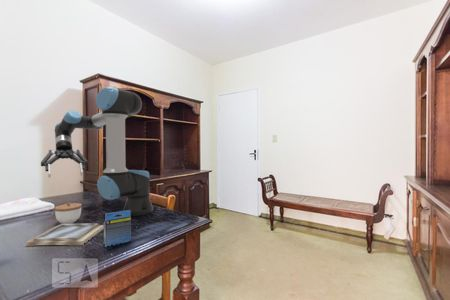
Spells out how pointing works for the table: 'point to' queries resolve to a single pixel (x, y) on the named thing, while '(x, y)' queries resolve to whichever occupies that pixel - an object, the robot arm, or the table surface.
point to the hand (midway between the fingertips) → (66, 174)
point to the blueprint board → (67, 235)
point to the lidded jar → (68, 212)
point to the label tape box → (117, 228)
